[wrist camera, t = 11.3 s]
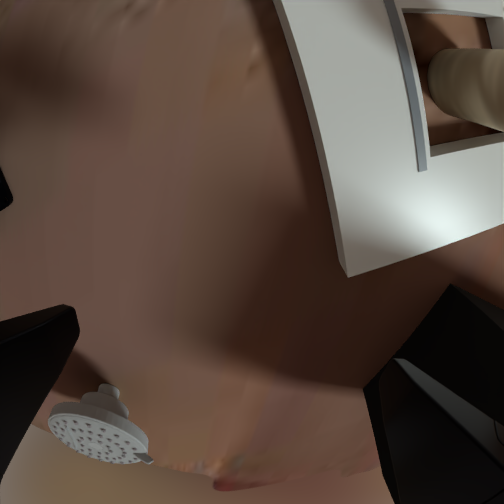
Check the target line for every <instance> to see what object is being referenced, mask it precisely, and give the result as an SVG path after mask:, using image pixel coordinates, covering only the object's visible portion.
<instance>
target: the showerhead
mask: <svg viewBox="0 0 504 504" xmlns="http://www.w3.org/2000/svg"><path fill="white" fill-rule="evenodd" d="M118 397H119V390H118V389H117V388H116V387H114V386H113V385H110V384H101V385H100V386H99V389H98V392H88V393H85V394H84V395H83V396H82V398H81V401H80V403H78V402H62V403H59V404H57V405H55V406H54V407H53V409H52V411H51V414H50V416H49V419H48V425H49V427H50V429H51V431H52V432H53V433H54V434H55V436H56V437H58V438H59V440H60V441H63V442H64V443H65V444H66V445H67V446H68V447H71V448H72V449H74V450H76V452H78V453H82V454H85V455H87V457H89V458H91V457H92V458H96V459H98V460H99V461H106V462H110V463H112V464H114V463H121V464H126V463H136V462H139V461H143V462H145V463H146V464H150V463H152V462H153V459H152V458H151V457H150V456H148V455H147V453H148V438H147V436H146V435H145V433H144V432H143V431H142V430H141V429H140V428H139V427H137V426H136V425H135V424H134V423H132V422H130V421H129V420H128V414H129V412H128V409H127V407H126V406H125V405H124V404H123V403H122V402H121V401H119V400H118Z"/></svg>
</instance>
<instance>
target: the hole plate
mask: <svg viewBox="0 0 504 504" xmlns="http://www.w3.org/2000/svg"><path fill="white" fill-rule="evenodd" d="M273 3H274V6H275V9H276V12H277V14H278V17H279V20H280V23H281V26H282V29H283V32H284V35H285V38H286V42H287V45H288V48H289V51H290V54H291V58H292V61H293V64H294V67H295V71H296V74H297V78H298V81H299V85H300V88H301V92H302V95H303V99H304V103H305V106H306V110H307V114H308V118H309V122H310V125H311V129H312V133H313V137H314V142H315V146H316V150H317V154H318V158H319V163H320V167H321V172H322V176H323V181H324V185H325V190H326V195H327V200H328V204H329V209H330V214H331V220H332V225H333V230H334V236H335V241H336V247H337V253H338V258H339V262H340V264H341V266H342V268H343V270H344V271H345V273H346V275H347V277H348V278H349V277H352V276H355V275H359V274H362V273H365V272H368V271H371V270H374V269H377V268H380V267H383V266H386V265H389V264H392V263H395V262H398V261H401V260H404V259H407V258H410V257H413V256H416V255H419V254H422V253H425V252H428V251H430V250H433V249H436V248H439V247H442V246H445V245H447V244H450V243H453V242H456V241H458V240H461V239H464V238H466V237H469V236H472V235H474V234H477V233H480V232H482V231H485V230H488V229H490V228H493V227H495V226H498V225H500V224H503V223H504V132H502V133H496V134H491V135H485V136H479V137H474V138H469V139H463V140H458V141H453V142H448V143H443V144H438V145H433V146H429V137H428V129H427V122H426V115H425V108H424V102H423V96H422V91H421V85H420V80H419V75H418V70H417V66H416V61H415V57H414V53H413V49H412V45H411V41H410V37H409V33H408V30H407V26H406V23H405V19H404V16H403V13H434V14H451V15H463V16H472V17H480V18H485V20H486V24H487V28H488V32H489V37H490V41H491V46H492V49H503V50H504V0H273Z"/></svg>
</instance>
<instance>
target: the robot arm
mask: <svg viewBox="0 0 504 504" xmlns="http://www.w3.org/2000/svg"><path fill="white" fill-rule="evenodd" d="M5 197H6V198H7V200H8V201H7V200H6V198H5ZM12 202H13V197H12V194H11V192H10V189H9V187H8V185H7V183H6V180H5V178H4V176H3V173H2V171H1V168H0V211H1V210H3V209H5V208H6V207H8V206H9V205H10V204H11V203H12ZM79 334H80V328H79V324H78V319H77V315H76V311H75V309H74V308H73V307H71V306H68V305H64V304H61V305H57V306H54V307H50V308H47V309H43V310H40V311H36V312H33V313H29V314H25V315H22V316H18V317H15V318H11V319H8V320H4V321H1V322H0V483H1V480H2V478H3V475H4V473H5V471H6V469H7V467H8V465H9V463H10V461H11V459H12V458H13V456H14V454H15V452H16V450H17V448H18V446H19V444H20V442H21V440H22V439H23V437H24V435H25V433H26V431H27V430H28V428H29V426H30V424H31V422H32V421H33V419H34V417H35V415H36V414H37V412H38V410H39V409H40V407H41V405H42V403H43V402H44V400H45V398H46V397H47V395H48V393H49V392H50V390H51V389H52V387H53V385H54V384H55V382H56V380H57V379H58V377H59V375H60V374H61V372H62V370H63V368H64V366H65V364H66V362H67V360H68V358H69V356H70V354H71V352H72V350H73V348H74V346H75V344H76V342H77V340H78V337H79ZM379 390H380V397H381V405H382V413H383V421H384V427H385V432H386V436H387V440H388V445H389V449H390V454H391V458H392V463H393V468H394V472H395V477H396V482H397V487H398V493H399V498H400V503H401V504H504V426H502V425H501V424H499V423H498V422H496V421H494V420H493V419H491V418H490V417H488V416H487V415H485V414H484V413H483V412H481V411H480V410H478V409H477V408H475V407H474V406H472V405H471V404H469V403H468V402H467V401H465V400H464V399H462V398H461V397H459V396H458V395H456V394H455V393H453V392H452V391H450V390H449V389H448V388H446V387H445V386H443V385H442V384H440V383H439V382H437V381H436V380H434V379H433V378H432V377H430V376H429V375H427V374H426V373H424V372H423V371H421V370H420V369H419V368H417V367H416V366H414V365H413V364H411V363H410V362H408V361H407V360H405V359H398V358H393V359H391V360H390V362H389V363H388V365H387V367H386V369H385V370H384V372H383V374H382V375H381V377H380V380H379Z"/></svg>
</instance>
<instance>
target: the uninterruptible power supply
mask: <svg viewBox="0 0 504 504" xmlns="http://www.w3.org/2000/svg"><path fill="white" fill-rule="evenodd" d="M393 358H398V359H405V360H407V361H408V362H410V363H411V364H413V365H414V366H416V367H417V368H419V369H420V370H421V371H423V372H424V373H426V374H427V375H429V376H430V377H432V378H433V379H434V380H436V381H437V382H439V383H440V384H442V385H443V386H445V387H446V388H448V389H449V390H450V391H452V392H453V393H455V394H456V395H458V396H459V397H461V398H462V399H464V400H465V401H467V402H468V403H469V404H471V405H472V406H474V407H475V408H477V409H478V410H480V411H481V412H483V413H484V414H485V415H487V416H488V417H490V418H491V419H493V420H494V421H496V422H498V423H499V424H501V425H502V426H504V310H503V309H501V308H499V307H497V306H495V305H493V304H491V303H489V302H487V301H485V300H483V299H481V298H479V297H477V296H475V295H473V294H471V293H469V292H467V291H465V290H463V289H461V288H459V287H457V286H454V285H452V284H449V286H448V287H447V289H446V290H445V292H444V293H443V294H442V296H441V297H440V298H439V300H438V301H437V303H436V304H435V305H434V307H433V308H432V309H431V311H430V312H429V313H428V314H427V316H426V317H425V318H424V320H423V321H422V322H421V323H420V325H419V326H418V327H417V328H416V330H415V331H414V332H413V333H412V335H411V336H410V337H409V338H408V339H407V341H406V342H405V343H404V344H403V345H402V347H401V348H400V349H399V350H398V351H397V352H396V354H395V355H394V356H393V357H392V358H391V359H393ZM391 359H390V360H391ZM390 360H389V361H388V363H389V362H390ZM388 363H387V364H386V365H385V366H384V367H383V368H382V369H381V370H380V371H379V372H378V374H377V375H376V376H375V377H374V378H373V379H372V380H371V381H370V382H369V383H368V384H367V385H366V386H365V387H364V388H363V392H364V395H365V399H366V403H367V407H368V411H369V416H370V420H371V424H372V428H373V432H374V437H375V441H376V446H377V450H378V455H379V459H380V464H381V469H382V474H383V477H384V479H385V482H386V484H387V486H388V489H389V491H390V494H391V496H392V498H393V501H394V503H395V504H401V503H400V498H399V493H398V487H397V482H396V477H395V472H394V468H393V463H392V458H391V454H390V449H389V445H388V440H387V436H386V432H385V427H384V421H383V413H382V405H381V397H380V390H379V380H380V377H381V375H382V374H383V372H384V370H385V369H386V367H387V365H388Z"/></svg>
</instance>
